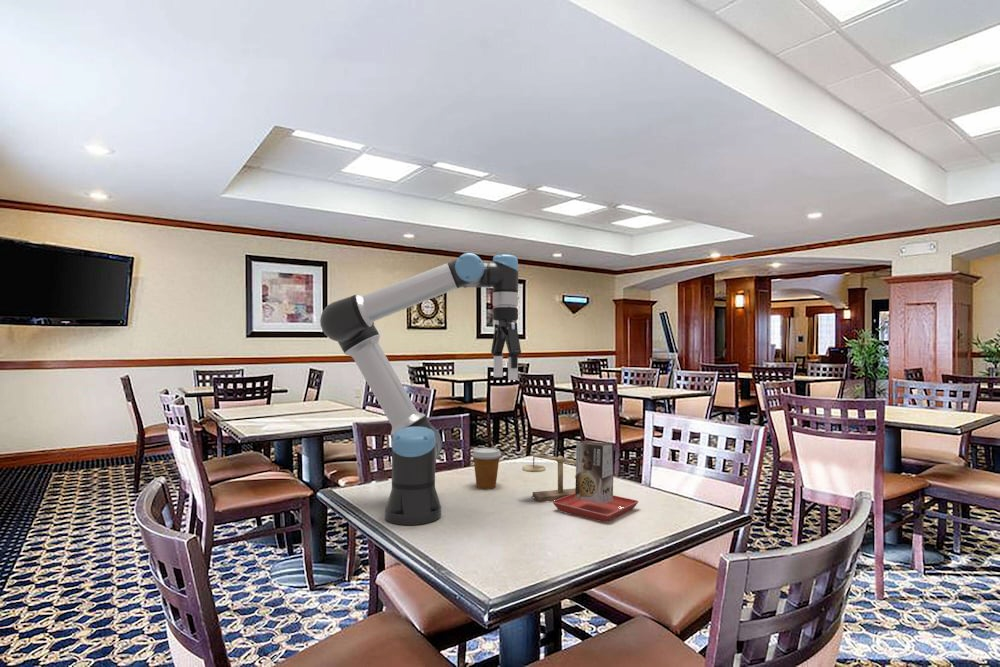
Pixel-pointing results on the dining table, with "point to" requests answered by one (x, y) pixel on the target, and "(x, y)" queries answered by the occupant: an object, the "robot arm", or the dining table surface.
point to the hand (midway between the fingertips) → (505, 378)
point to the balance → (560, 493)
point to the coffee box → (594, 471)
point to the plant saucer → (595, 507)
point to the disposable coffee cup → (486, 467)
